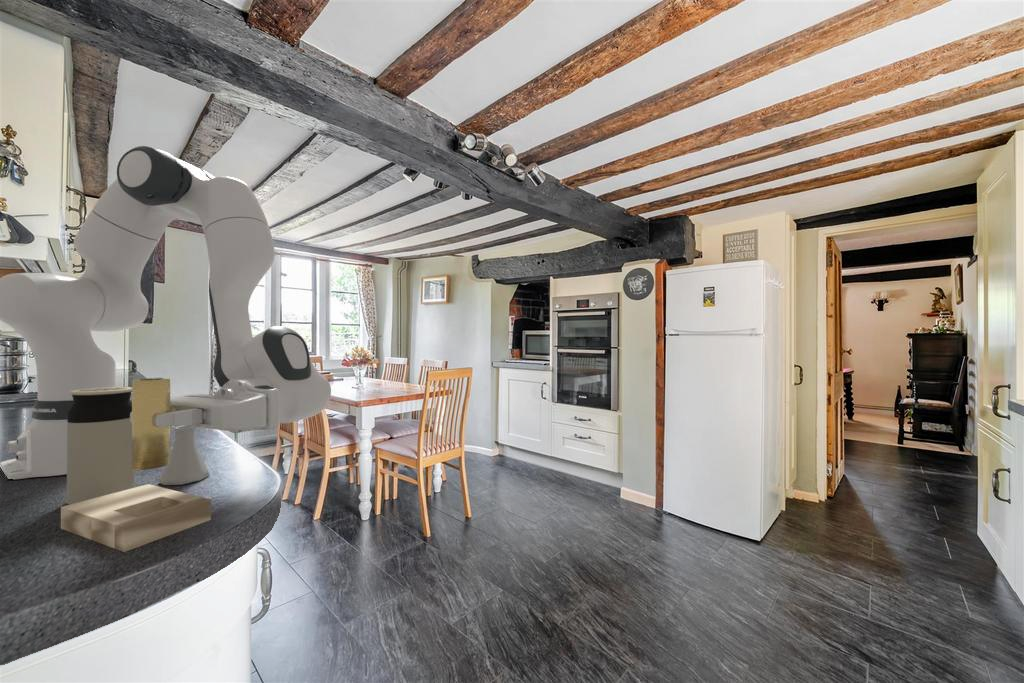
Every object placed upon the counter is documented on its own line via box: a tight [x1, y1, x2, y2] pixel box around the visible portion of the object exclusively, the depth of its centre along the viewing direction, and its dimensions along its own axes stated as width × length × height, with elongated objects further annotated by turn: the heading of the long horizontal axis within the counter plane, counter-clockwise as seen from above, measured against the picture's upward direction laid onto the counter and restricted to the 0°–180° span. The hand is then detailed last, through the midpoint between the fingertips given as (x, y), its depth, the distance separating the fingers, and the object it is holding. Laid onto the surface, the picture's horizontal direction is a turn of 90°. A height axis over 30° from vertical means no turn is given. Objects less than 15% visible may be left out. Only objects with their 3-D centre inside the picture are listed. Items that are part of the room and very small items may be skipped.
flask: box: [157, 425, 211, 486], centre depth 77 cm, size 7×7×10 cm
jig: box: [60, 483, 212, 553], centre depth 58 cm, size 16×10×3 cm, turn 67°
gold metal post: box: [131, 377, 171, 471], centre depth 57 cm, size 4×4×12 cm
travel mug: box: [66, 386, 136, 505], centre depth 68 cm, size 8×8×18 cm
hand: (143, 419), depth 56 cm, fingers closed on gold metal post, 4 cm apart
